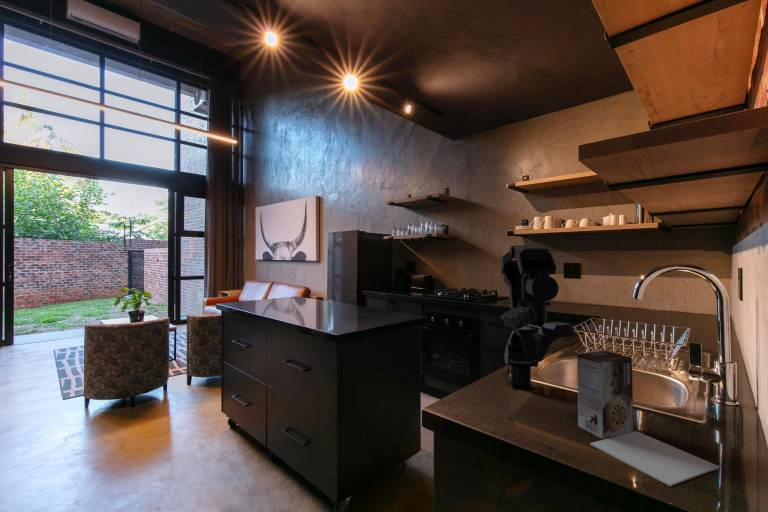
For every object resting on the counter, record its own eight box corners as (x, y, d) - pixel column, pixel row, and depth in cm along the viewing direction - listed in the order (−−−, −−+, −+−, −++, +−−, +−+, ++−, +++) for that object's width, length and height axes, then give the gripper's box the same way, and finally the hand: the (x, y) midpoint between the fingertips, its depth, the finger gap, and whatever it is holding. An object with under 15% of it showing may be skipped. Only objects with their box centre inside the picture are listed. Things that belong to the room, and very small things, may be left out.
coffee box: (606, 420, 81) (605, 350, 81) (634, 433, 74) (633, 357, 75) (576, 426, 77) (576, 353, 78) (603, 439, 71) (602, 360, 72)
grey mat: (590, 444, 69) (590, 443, 69) (636, 432, 75) (636, 431, 75) (670, 486, 56) (670, 484, 56) (719, 468, 62) (719, 466, 62)
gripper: (484, 294, 94) (484, 353, 93) (538, 301, 77) (538, 373, 76) (516, 293, 98) (516, 349, 98) (575, 300, 81) (575, 368, 80)
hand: (534, 359), depth 88 cm, fingers open, 3 cm apart
